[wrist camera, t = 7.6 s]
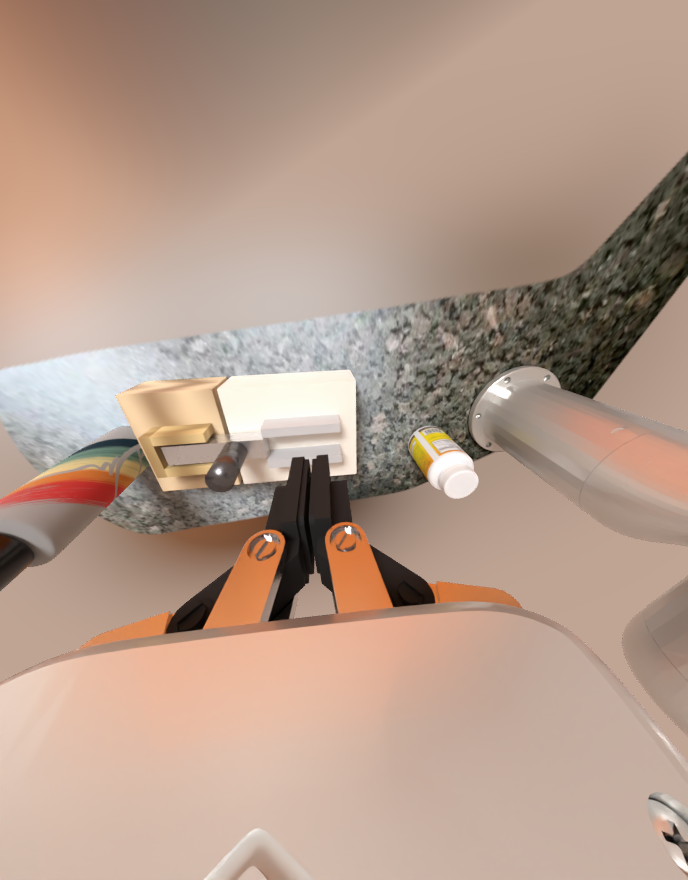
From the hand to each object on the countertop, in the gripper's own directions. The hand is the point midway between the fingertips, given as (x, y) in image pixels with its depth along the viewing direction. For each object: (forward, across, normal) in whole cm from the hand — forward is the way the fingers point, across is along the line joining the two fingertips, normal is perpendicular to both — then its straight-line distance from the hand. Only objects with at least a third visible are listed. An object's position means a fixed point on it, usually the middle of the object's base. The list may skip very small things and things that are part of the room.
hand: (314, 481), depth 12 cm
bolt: (+15, +11, +5) cm, 20 cm away
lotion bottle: (+20, +24, +7) cm, 33 cm away
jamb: (+20, +15, +5) cm, 26 cm away
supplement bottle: (+22, -14, +11) cm, 28 cm away
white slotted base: (+21, +3, +6) cm, 22 cm away
